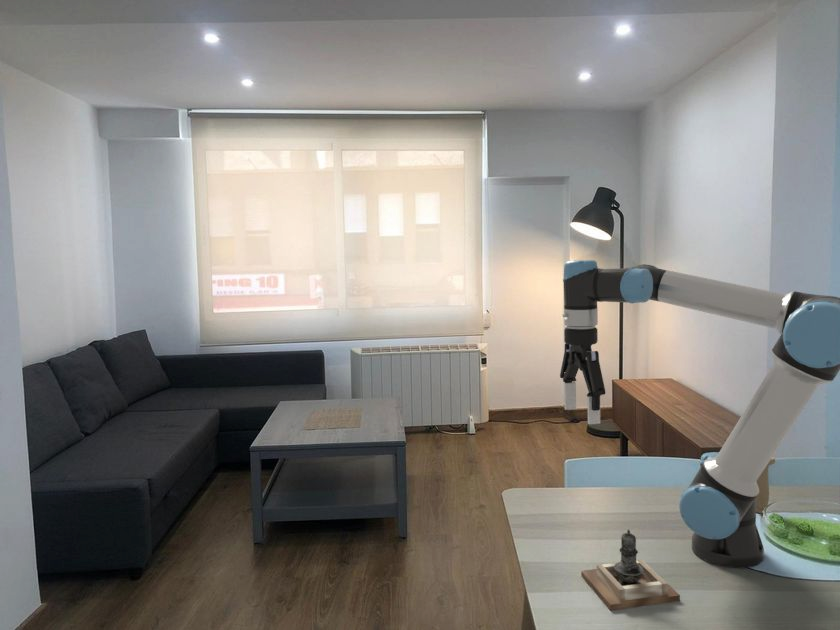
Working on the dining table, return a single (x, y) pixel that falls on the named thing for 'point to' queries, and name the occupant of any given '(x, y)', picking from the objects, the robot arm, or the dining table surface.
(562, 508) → the dining table surface
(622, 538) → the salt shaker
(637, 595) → the caddy
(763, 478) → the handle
